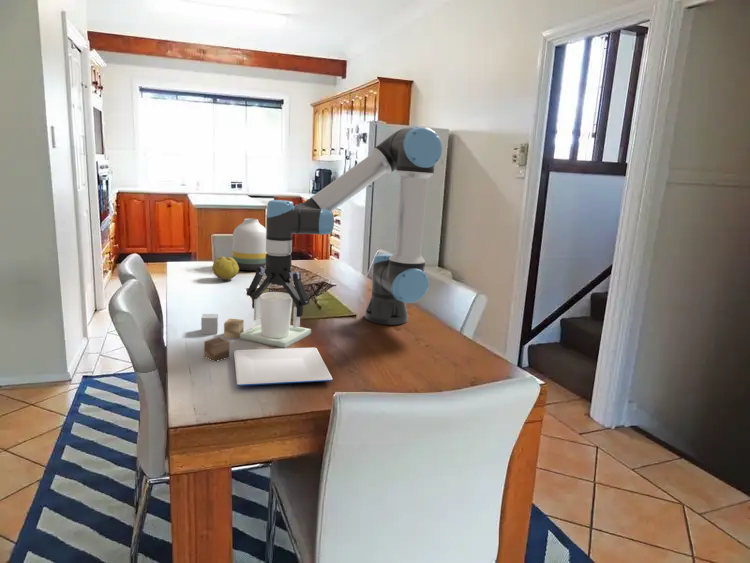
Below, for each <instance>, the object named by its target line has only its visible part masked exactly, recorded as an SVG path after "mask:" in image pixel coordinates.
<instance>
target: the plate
mask: <svg viewBox="0 0 750 563" xmlns="http://www.w3.org/2000/svg"><path fill="white" fill-rule="evenodd" d="M233 356H234V365H235V376H236V378H235V379H236V385H237V386H241V387H242V386H257V385H258V386H260V385H274V384H275V385H278V384H296V383H314V382H331V381H332V380H333V377H332V375H331V373H330V371H329V369H328V366H327V365H326V363H325V361H324V359H323V358H322V356H321V353H320V352H319V350H318V348H317V347H291V348H290V347H287V348H264V349H263V348H261V349H260V348H259V349H258V348H257V349H236V350H233Z"/></svg>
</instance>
